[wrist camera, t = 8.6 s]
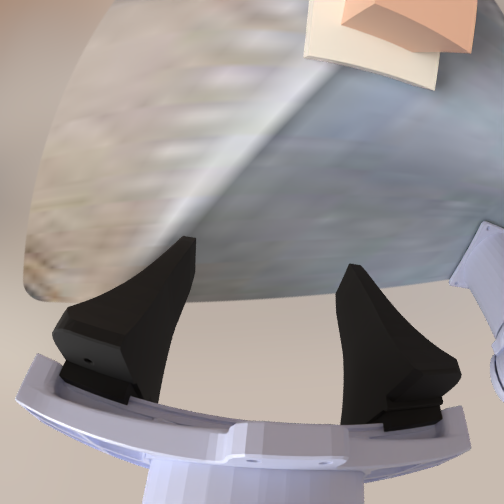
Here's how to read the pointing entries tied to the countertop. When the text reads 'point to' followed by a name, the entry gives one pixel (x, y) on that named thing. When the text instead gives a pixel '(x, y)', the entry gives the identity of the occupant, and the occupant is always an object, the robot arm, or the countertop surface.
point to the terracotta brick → (416, 23)
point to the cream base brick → (363, 48)
